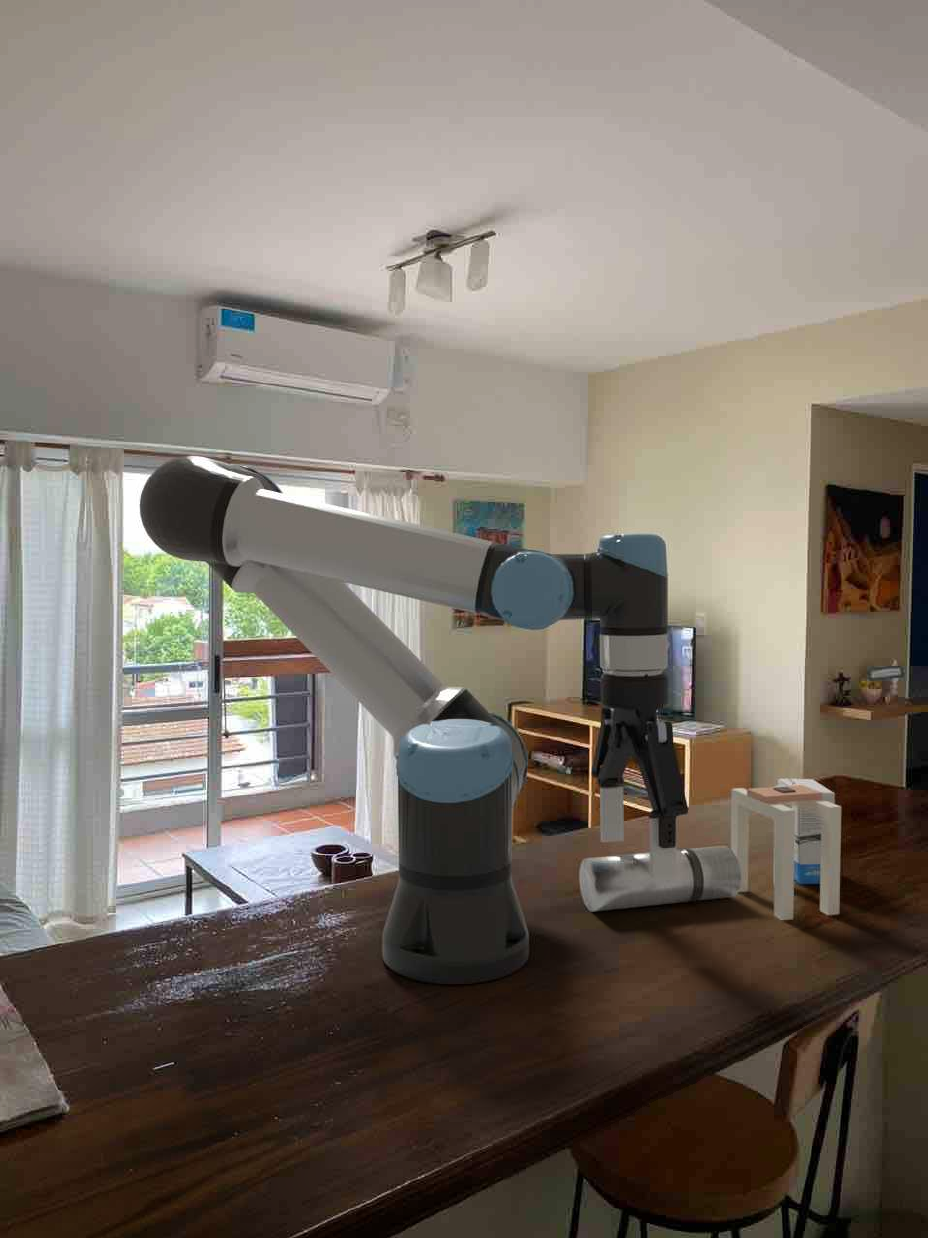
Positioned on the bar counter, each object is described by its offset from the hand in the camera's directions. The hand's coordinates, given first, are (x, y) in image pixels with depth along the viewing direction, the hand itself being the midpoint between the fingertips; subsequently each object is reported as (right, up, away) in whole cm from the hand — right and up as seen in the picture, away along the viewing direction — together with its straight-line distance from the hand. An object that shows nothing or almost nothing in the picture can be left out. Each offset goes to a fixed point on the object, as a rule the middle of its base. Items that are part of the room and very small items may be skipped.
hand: (636, 857), depth 107 cm
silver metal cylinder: (+4, -5, +2) cm, 7 cm away
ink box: (+25, -6, +15) cm, 30 cm away
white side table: (+18, -7, +5) cm, 20 cm away
